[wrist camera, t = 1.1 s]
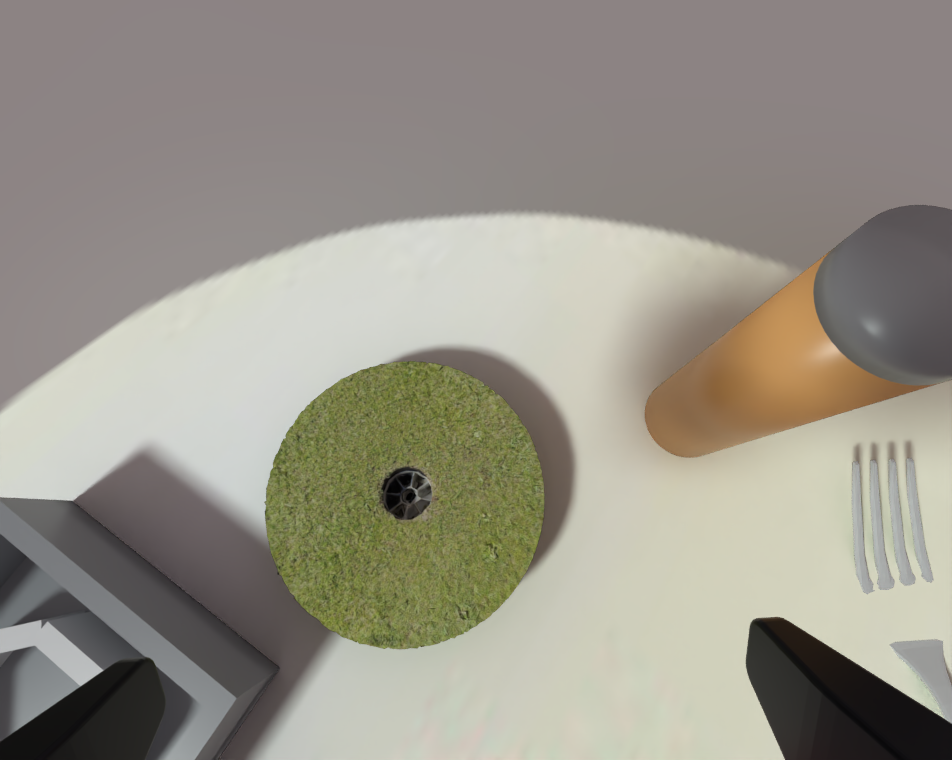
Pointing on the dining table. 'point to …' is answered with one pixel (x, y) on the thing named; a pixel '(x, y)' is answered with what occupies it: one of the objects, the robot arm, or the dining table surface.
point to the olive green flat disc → (404, 505)
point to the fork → (916, 654)
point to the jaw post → (822, 340)
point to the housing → (113, 630)
